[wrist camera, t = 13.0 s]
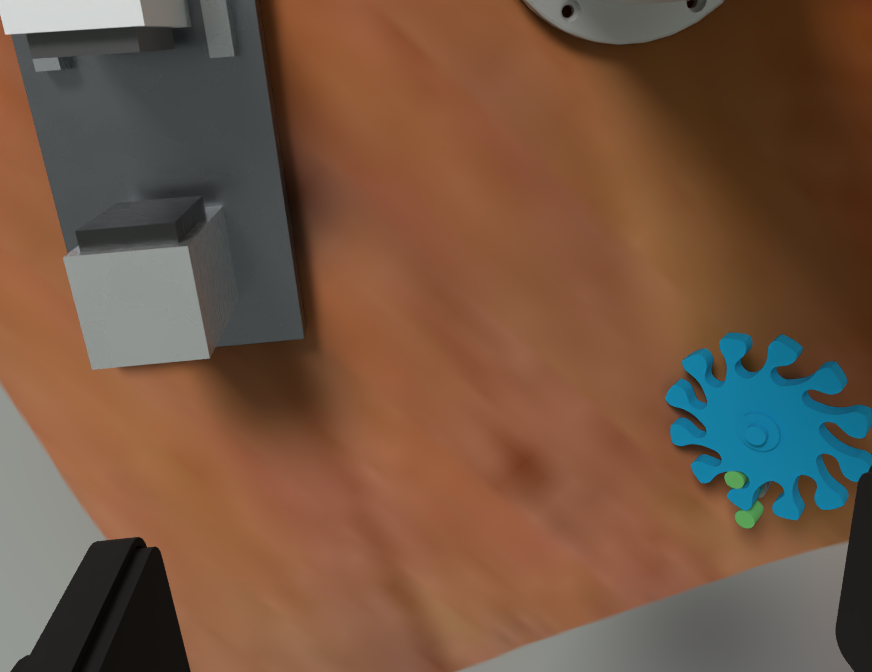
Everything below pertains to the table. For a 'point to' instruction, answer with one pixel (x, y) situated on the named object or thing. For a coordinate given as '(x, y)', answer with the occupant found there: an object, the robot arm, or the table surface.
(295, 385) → the table surface
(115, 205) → the rail
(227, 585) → the table surface
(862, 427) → the gear
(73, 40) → the block
